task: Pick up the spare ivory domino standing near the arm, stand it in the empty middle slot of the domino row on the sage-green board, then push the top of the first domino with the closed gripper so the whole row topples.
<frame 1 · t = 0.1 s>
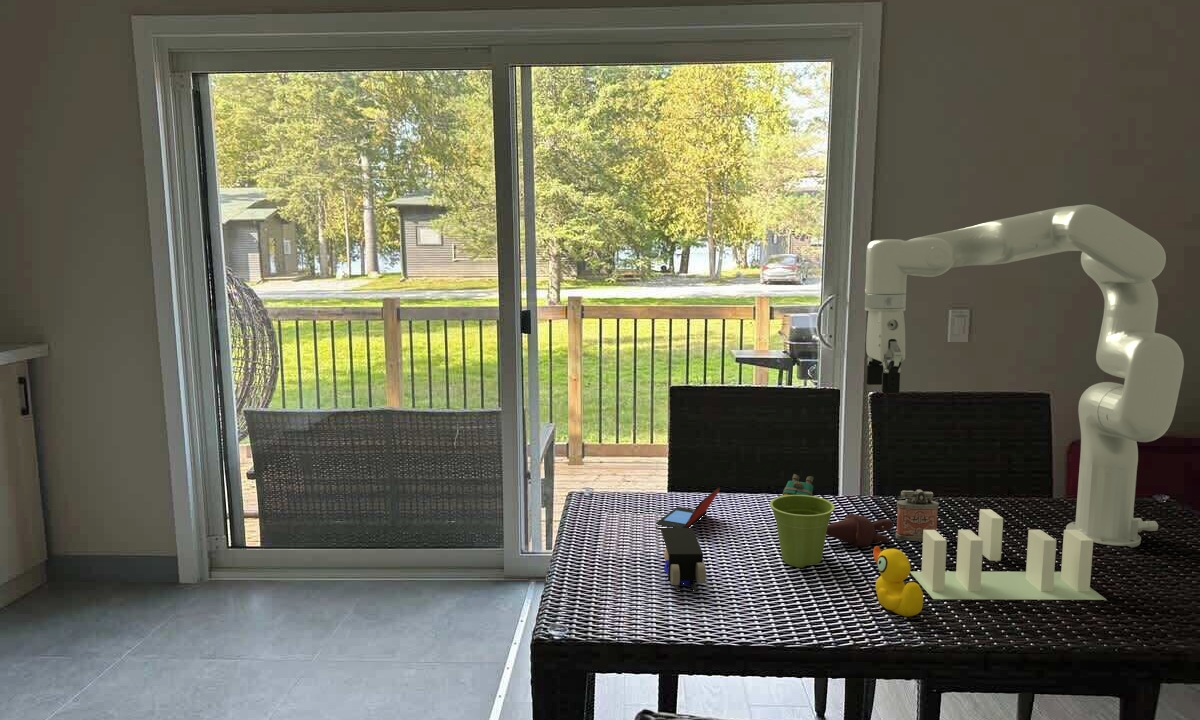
hand: (882, 388, 150), 31 cm above the table, tool pointing down, fingers open, 9 cm apart
lighter: (916, 538, 154), on the table
domino 4: (967, 584, 130), point 1 cm above the table, touching board
duckling: (895, 611, 123), on the table
domino 3: (988, 559, 142), on the table
plant pot: (800, 562, 143), on the table
board: (1003, 589, 130), on the table
binoculars: (797, 521, 165), on the table
domino 5: (932, 584, 130), point 1 cm above the table, touching board
domino 2: (1039, 584, 129), point 1 cm above the table, touching board
icecream: (854, 548, 149), on the table
handheld game console: (688, 524, 165), on the table
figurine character: (682, 580, 136), on the table
domino 1: (1074, 584, 129), point 1 cm above the table, touching board
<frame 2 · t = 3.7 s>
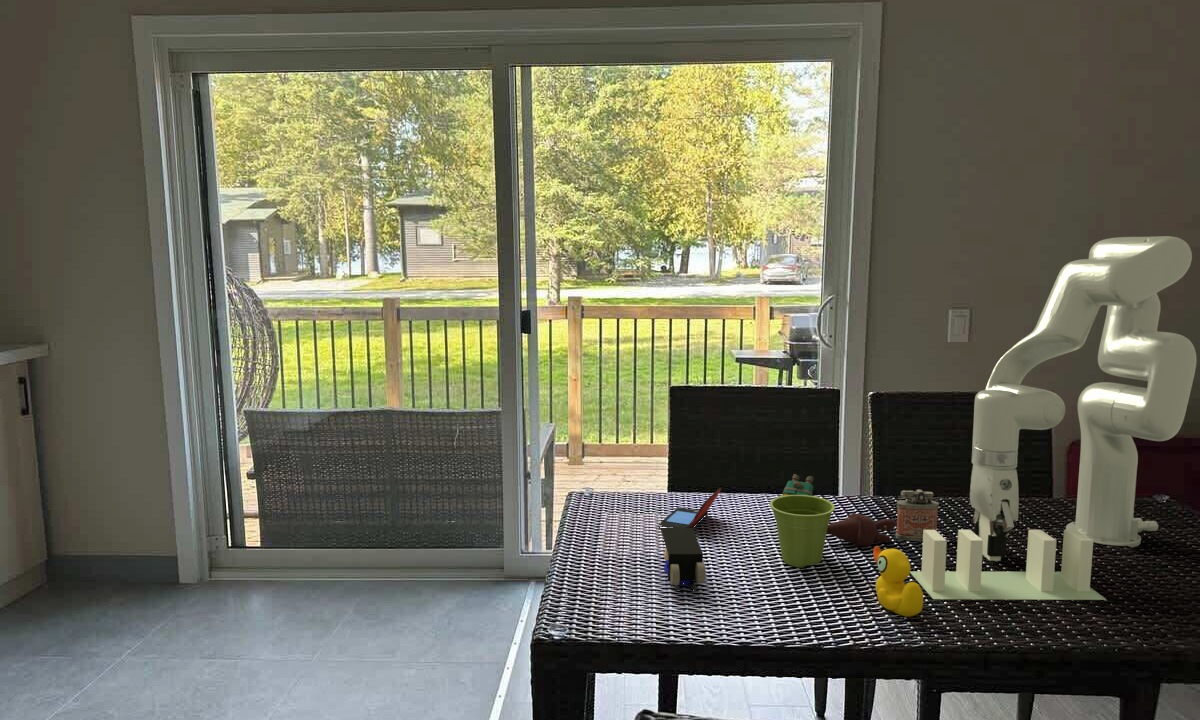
hand: (989, 548, 142), 2 cm above the table, tool pointing down, fingers closed on domino 3, 4 cm apart
domino 3: (988, 559, 142), on the table, touching gripper
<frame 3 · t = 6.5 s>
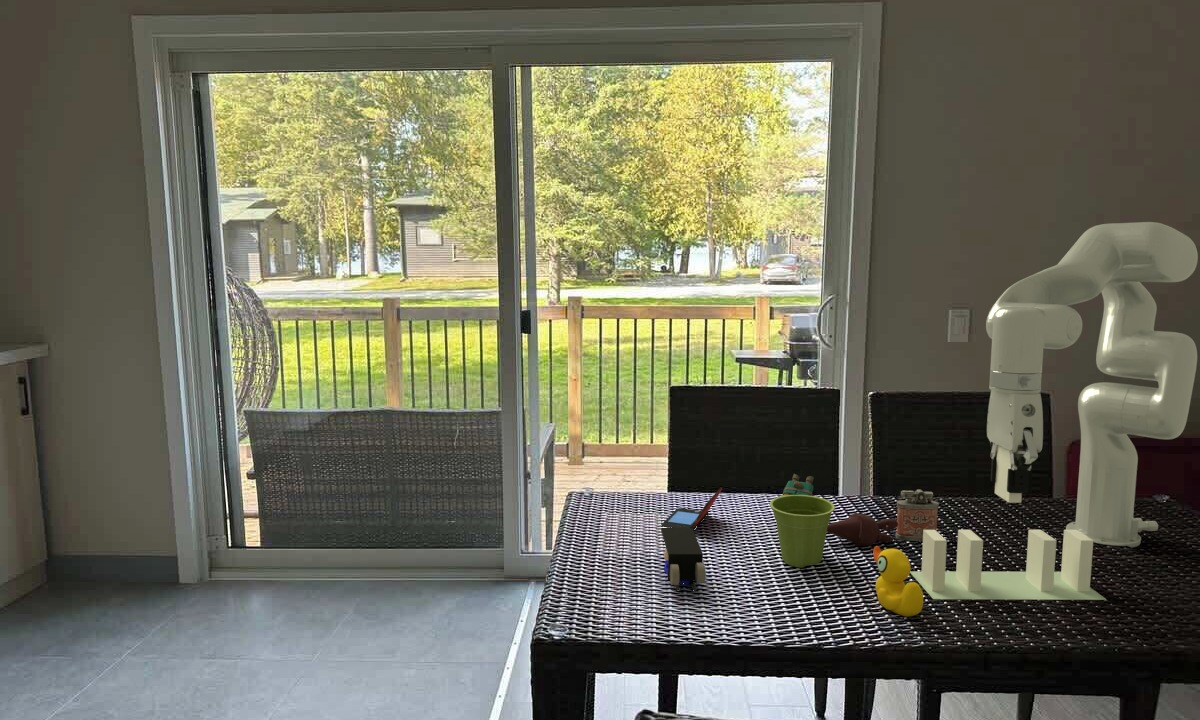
hand: (1008, 486, 127), 18 cm above the table, tool pointing down, fingers closed on domino 3, 4 cm apart
domino 3: (1007, 497, 127), point 16 cm above the table, touching gripper
when the fingers open (4 cm above the table, at t = 9.3 s): domino 3 drops 1 cm, resting on board.
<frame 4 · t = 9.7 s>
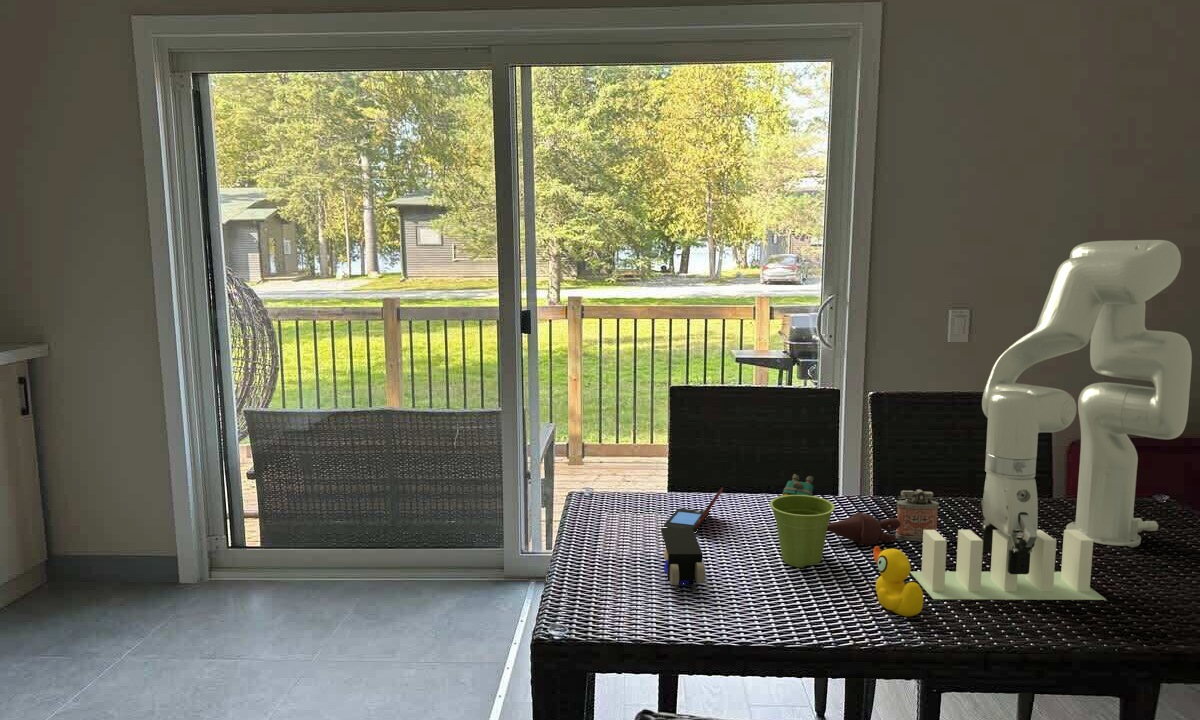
hand: (1004, 561, 129), 5 cm above the table, tool pointing down, fingers open, 8 cm apart
domino 3: (1003, 584, 130), point 1 cm above the table, touching board
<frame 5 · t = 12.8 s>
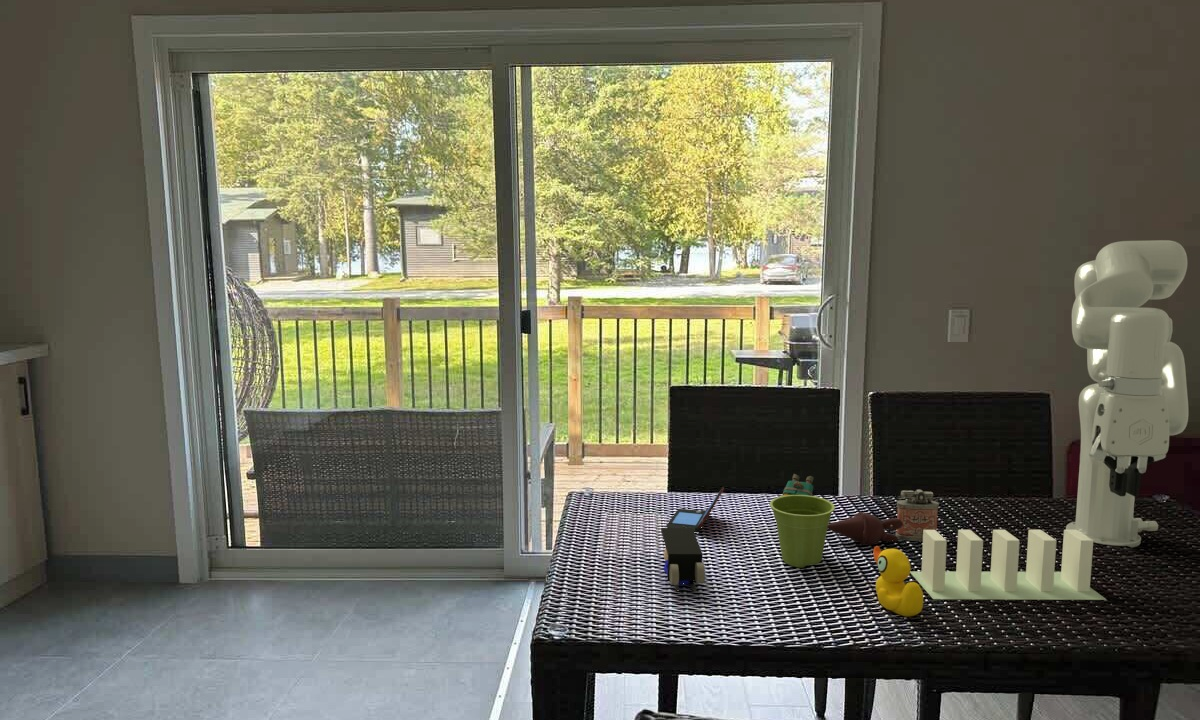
hand: (1124, 493, 126), 17 cm above the table, tool pointing down, fingers closed
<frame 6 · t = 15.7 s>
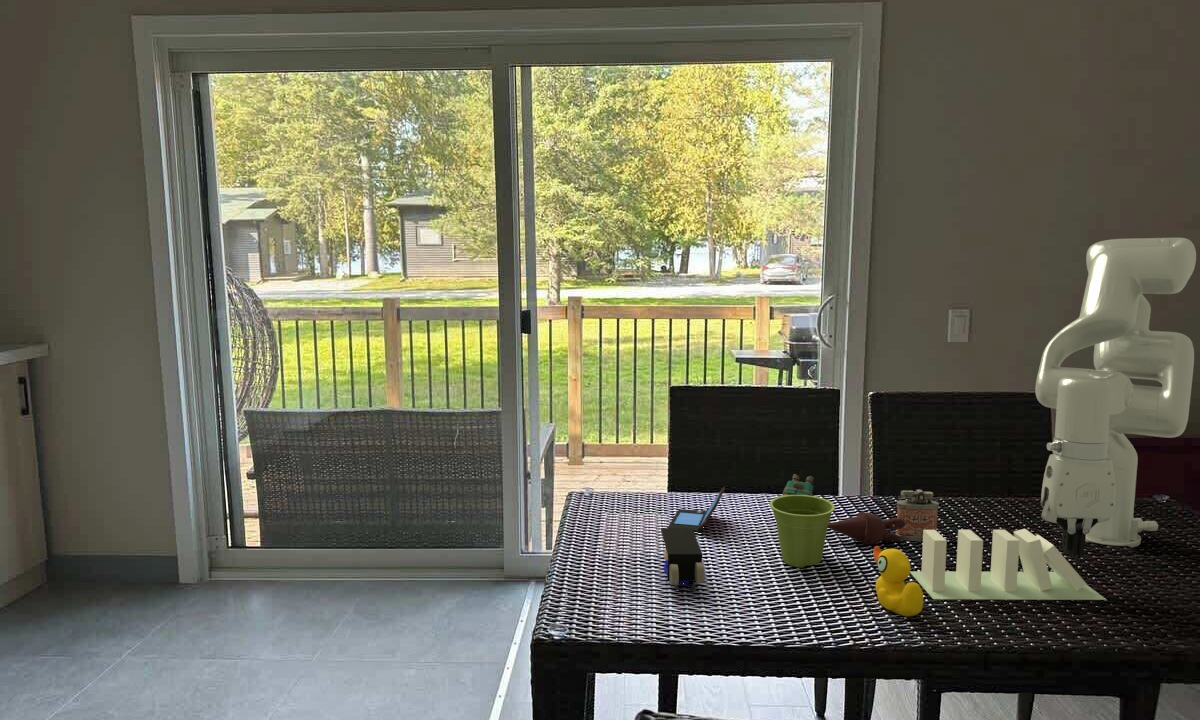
hand: (1072, 553, 128), 7 cm above the table, tool pointing down, fingers closed
domino 2: (1038, 583, 129), point 1 cm above the table, tilted 17°, touching board
domino 1: (1073, 581, 129), point 1 cm above the table, tilted 40°, touching board
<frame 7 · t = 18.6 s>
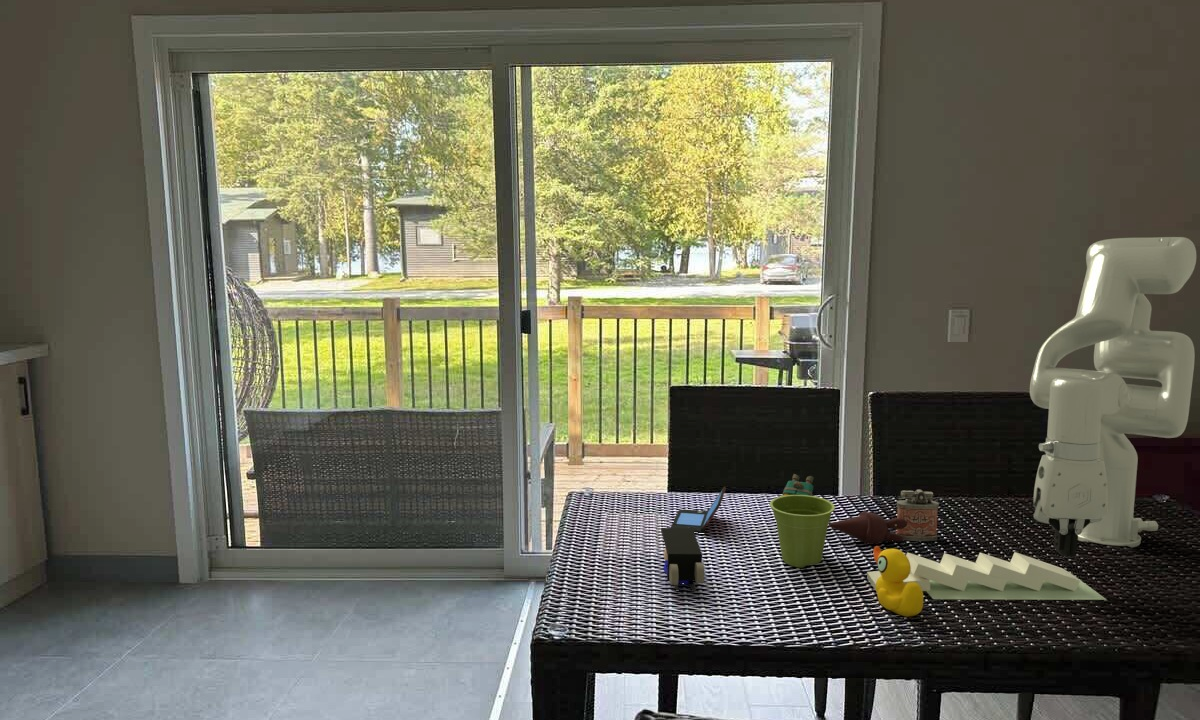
hand: (1065, 553, 128), 6 cm above the table, tool pointing down, fingers closed
domino 4: (959, 579, 130), point 2 cm above the table, tilted 70°, touching board, domino 3, domino 5
domino 3: (997, 579, 129), point 2 cm above the table, tilted 71°, touching board, domino 2, domino 4
domino 5: (924, 578, 130), point 2 cm above the table, tilted 96°, touching board, domino 4
domino 2: (1033, 579, 129), point 2 cm above the table, tilted 71°, touching board, domino 1, domino 3
domino 1: (1069, 579, 129), point 2 cm above the table, tilted 70°, touching board, domino 2
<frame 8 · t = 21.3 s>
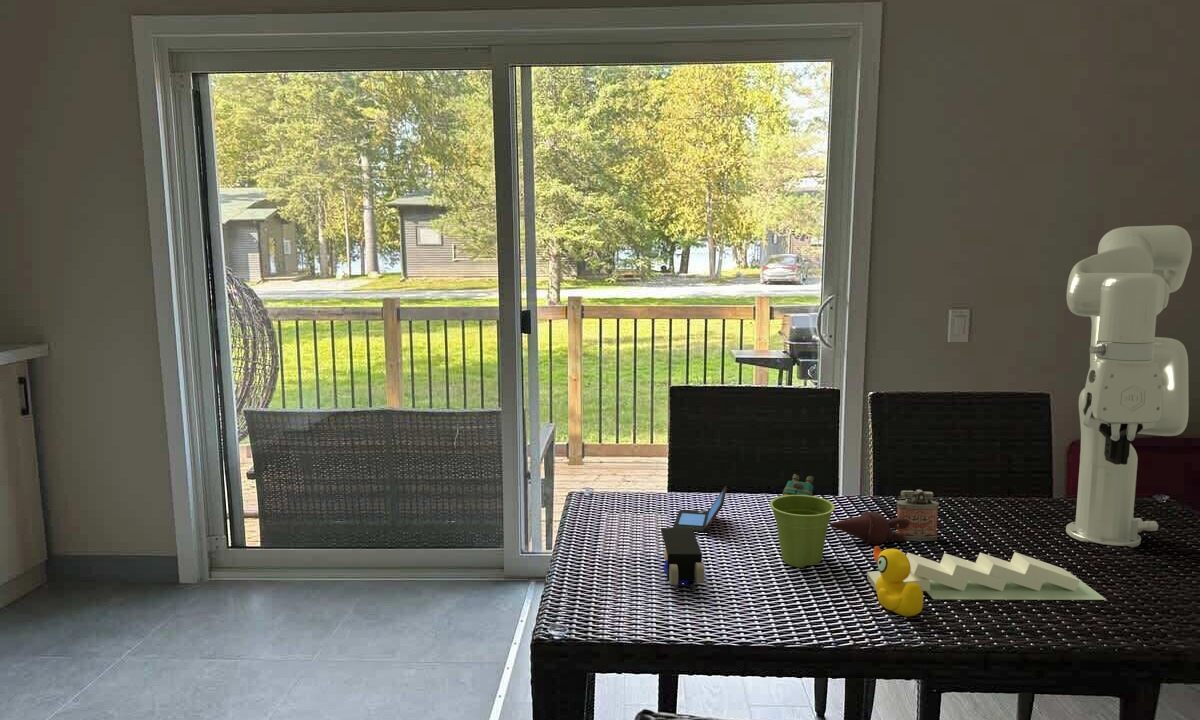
hand: (1115, 462, 124), 23 cm above the table, tool pointing down, fingers closed
at the end: domino 5 tilted 96°; domino 3 tilted 71°; domino 3 inside the target area (0.0 cm from its centre), point 1.7 cm above the table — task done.
